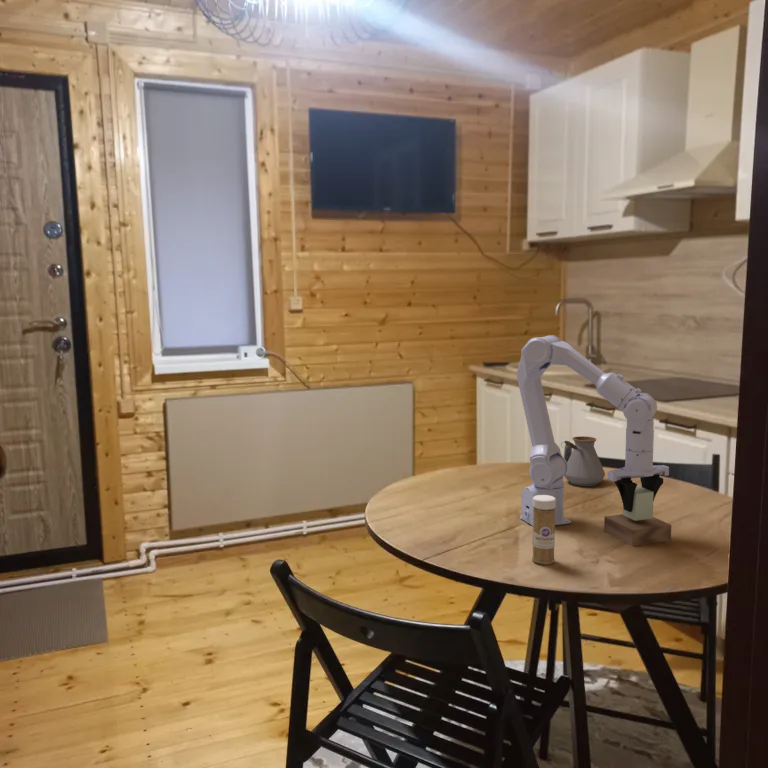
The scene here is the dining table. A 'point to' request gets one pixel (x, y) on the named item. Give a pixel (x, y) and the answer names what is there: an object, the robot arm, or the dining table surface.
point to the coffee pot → (584, 462)
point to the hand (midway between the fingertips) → (637, 509)
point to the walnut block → (637, 530)
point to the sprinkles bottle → (543, 529)
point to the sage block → (641, 505)
